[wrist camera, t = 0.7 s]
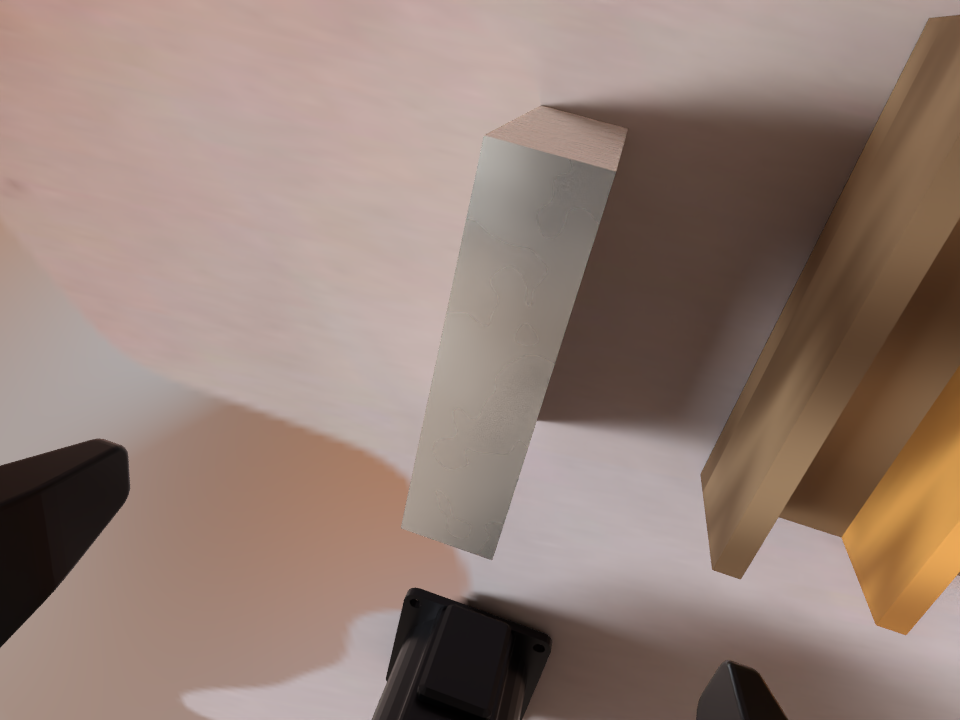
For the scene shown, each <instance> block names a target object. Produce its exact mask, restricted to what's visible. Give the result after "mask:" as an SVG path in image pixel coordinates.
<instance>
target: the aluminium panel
mask: <svg viewBox="0 0 960 720" xmlns="http://www.w3.org/2000/svg"><path fill="white" fill-rule="evenodd" d="M627 130H628V128H624V127H621V126H617V125H613V124H609V123H606V122H602V121H598V120H594V119H590V118H587V117H583V116H579V115H575V114H572V113H568V112H564V111H560V110H557V109H553V108H549V107H545V106H539V107H537V108H535V109H533V110H531V111H529V112H527V113H526V114H524V115H522V116H520V117H518V118H516V119H514V120H512V121H510V122H508V123H506V124H505V125H503V126H501V127H499V128H497V129H495V130H493V131H491V132H489V133H487V134H486V135H484V137H483V142H482V147H481V152H480V156H479V161H478V166H477V171H476V175H475V180H474V185H473V189H472V194H471V199H470V204H469V208H468V213H467V218H466V223H465V227H464V232H463V237H462V242H461V246H460V251H459V256H458V260H457V265H456V270H455V275H454V279H453V284H452V289H451V294H450V298H449V303H448V308H447V313H446V317H445V322H444V327H443V331H442V336H441V341H440V346H439V350H438V355H437V360H436V365H435V369H434V374H433V379H432V384H431V388H430V393H429V398H428V402H427V407H426V412H425V417H424V421H423V426H422V431H421V436H420V440H419V445H418V450H417V454H416V459H415V464H414V469H413V473H412V478H411V483H410V488H409V492H408V497H407V502H406V507H405V511H404V516H403V521H402V525H401V528H402V529H405V530H407V531H411V532H413V533H416V534H419V535H422V536H424V537H427V538H430V539H433V540H436V541H439V542H442V543H444V544H447V545H450V546H453V547H456V548H459V549H462V550H464V551H467V552H470V553H473V554H476V555H479V556H481V557H484V558H487V559H490V560H492V559H493V556H494V553H495V550H496V547H497V544H498V540H499V537H500V534H501V531H502V528H503V525H504V522H505V519H506V515H507V512H508V509H509V506H510V503H511V500H512V497H513V493H514V490H515V487H516V484H517V481H518V478H519V475H520V472H521V468H522V465H523V462H524V459H525V456H526V453H527V450H528V446H529V443H530V440H531V437H532V434H533V431H534V428H535V425H536V421H537V418H538V415H539V412H540V409H541V406H542V403H543V399H544V396H545V393H546V390H547V387H548V384H549V381H550V378H551V374H552V371H553V368H554V365H555V362H556V359H557V356H558V352H559V349H560V346H561V343H562V340H563V337H564V334H565V331H566V327H567V324H568V321H569V318H570V315H571V312H572V309H573V305H574V302H575V299H576V296H577V293H578V290H579V287H580V284H581V280H582V277H583V274H584V271H585V268H586V265H587V262H588V258H589V255H590V252H591V249H592V246H593V243H594V240H595V237H596V233H597V230H598V227H599V224H600V221H601V218H602V215H603V211H604V208H605V205H606V202H607V199H608V196H609V193H610V190H611V186H612V183H613V180H614V177H615V174H616V171H617V167H618V163H619V160H620V156H621V152H622V149H623V145H624V141H625V138H626V134H627Z"/></svg>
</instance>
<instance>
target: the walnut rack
mask: <svg viewBox="0 0 960 720" xmlns="http://www.w3.org/2000/svg"><path fill="white" fill-rule="evenodd" d="M701 482H702V490H703V498H704V506H705V515H706V523H707V531H708V539H709V547H710V556H711V564H712V570H714V571H717V572H720V573H723V574H726V575H729V576H732V577H735V578H738V579H741V578H742V576H743V575H744V573H745V571H746V570H747V568H748V567H749V565H750V563H751V562H752V560H753V558H754V557H755V555H756V553H757V552H758V550H759V548H760V547H761V545H762V543H763V542H764V540H765V538H766V537H767V535H768V534H769V532H770V530H771V529H772V527H773V525H774V524H775V522H776V520H777V519H778V517H780V518H783V519H786V520H789V521H792V522H796V523H799V524H802V525H805V526H808V527H811V528H814V529H817V530H820V531H823V532H826V533H829V534H833V535H836V536H839V537H842V540H843V543H844V545H845V548H846V550H847V553H848V555H849V558H850V560H851V563H852V565H853V568H854V570H855V573H856V576H857V578H858V581H859V583H860V586H861V588H862V591H863V593H864V596H865V598H866V601H867V603H868V606H869V609H870V611H871V614H872V616H873V619H874V621H875V624H876V625H877V626H880V627H883V628H886V629H889V630H892V631H895V632H898V633H901V634H904V635H907V634H908V632H909V631H910V630H911V629H912V628H913V626H914V625H915V624H916V623H917V622H918V621H919V619H920V618H921V617H922V616H923V615H924V613H925V612H926V611H927V610H928V609H929V608H930V606H931V605H932V604H933V603H934V602H935V600H936V599H937V598H938V597H939V596H940V595H941V593H942V592H943V591H944V590H945V589H946V587H947V586H948V585H949V584H950V583H951V582H952V580H953V579H954V578H955V577H956V576H957V575H959V576H960V15H956V16H946V17H936V18H929V20H928V22H927V24H926V26H925V28H924V30H923V32H922V34H921V36H920V38H919V40H918V42H917V44H916V46H915V48H914V50H913V52H912V53H911V55H910V57H909V59H908V61H907V63H906V65H905V67H904V69H903V71H902V73H901V75H900V77H899V79H898V81H897V83H896V85H895V87H894V89H893V91H892V93H891V95H890V97H889V99H888V101H887V103H886V105H885V107H884V109H883V111H882V113H881V115H880V117H879V119H878V121H877V123H876V125H875V127H874V129H873V131H872V133H871V135H870V137H869V139H868V141H867V143H866V145H865V147H864V149H863V151H862V153H861V155H860V157H859V159H858V161H857V163H856V165H855V167H854V169H853V171H852V173H851V175H850V177H849V179H848V181H847V183H846V185H845V187H844V189H843V191H842V193H841V195H840V197H839V199H838V201H837V203H836V205H835V207H834V209H833V211H832V213H831V215H830V217H829V219H828V221H827V223H826V225H825V227H824V229H823V231H822V233H821V235H820V237H819V239H818V241H817V243H816V245H815V247H814V249H813V251H812V253H811V255H810V257H809V259H808V261H807V263H806V265H805V267H804V269H803V271H802V273H801V275H800V277H799V279H798V281H797V283H796V285H795V287H794V289H793V291H792V293H791V295H790V297H789V299H788V301H787V303H786V305H785V307H784V309H783V311H782V313H781V315H780V317H779V319H778V321H777V323H776V325H775V327H774V329H773V331H772V333H771V335H770V337H769V339H768V341H767V343H766V345H765V347H764V349H763V351H762V353H761V355H760V357H759V359H758V361H757V363H756V365H755V367H754V369H753V371H752V373H751V375H750V377H749V379H748V381H747V383H746V385H745V387H744V389H743V391H742V393H741V395H740V397H739V399H738V401H737V403H736V405H735V407H734V409H733V411H732V413H731V415H730V417H729V419H728V421H727V423H726V425H725V427H724V429H723V431H722V433H721V435H720V437H719V439H718V441H717V443H716V445H715V447H714V448H713V450H712V452H711V454H710V456H709V458H708V460H707V462H706V464H705V466H704V468H703V470H702V472H701Z"/></svg>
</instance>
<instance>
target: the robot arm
mask: <svg viewBox="0 0 960 720" xmlns="http://www.w3.org/2000/svg"><path fill="white" fill-rule="evenodd" d="M129 491H130V477H129V461H128V452H127V450H126V449H125V448H124V447H123V446H122V445H119V444H116V443H113V442H110V441H108V440H105V439H93V440H89V441H86V442H82V443H79V444H75V445H72V446H68V447H64V448H61V449H57V450H54V451H51V452H47V453H44V454H40V455H36V456H33V457H29V458H26V459H22V460H19V461H15V462H12V463H8V464H4V465H1V466H0V647H1V646H2V645H3V644H4V643H5V642H6V641H7V640H8V639H9V638H10V637H11V636H12V635H13V634H14V633H15V632H16V630H18V629H19V628H20V627H21V625H22V624H23V623H24V622H25V621H26V620H27V619H28V618H29V617H30V616H31V615H32V614H33V613H34V612H35V611H36V610H37V609H38V608H39V607H40V606H41V605H42V604H43V602H44V601H45V600H46V599H47V598H48V597H49V596H50V595H51V593H53V592H54V590H55V589H56V588H57V587H58V586H59V585H60V583H61V582H62V581H63V580H64V579H65V577H66V576H67V575H68V574H69V572H70V571H71V570H72V569H73V568H74V566H75V565H76V564H77V562H78V561H79V560H80V558H81V557H82V556H83V555H84V554H85V552H86V551H87V550H88V549H89V547H90V546H91V545H92V544H93V542H94V541H95V540H96V538H97V537H98V536H99V535H100V533H101V532H102V531H103V529H104V528H105V527H106V526H107V525H108V523H109V522H110V521H111V520H112V518H113V517H114V516H115V514H116V513H117V512H118V511H119V509H120V508H121V507H122V506H123V504H124V503H125V501H126V499H127V497H128V495H129ZM540 644H541V645H540ZM551 646H552V640H551V638H550V637H549V636H548V635H547V634H545V633H543V632H540V631H537V630H534V629H531V628H529V627H526V626H523V625H520V624H518V623H515V622H512V621H509V620H506V619H504V618H501V617H498V616H495V615H492V614H490V613H487V612H484V611H481V610H478V609H476V608H473V607H470V606H467V605H465V604H462V603H459V602H456V601H453V600H451V599H448V598H445V597H442V596H439V595H436V594H434V593H431V592H428V591H425V590H423V589H419V588H411V589H409V591H408V592H407V595H406V597H405V599H404V603H403V607H402V611H401V616H400V620H399V624H398V629H397V633H396V637H395V642H394V646H393V650H392V655H391V659H390V663H389V667H388V672H387V676H386V681H387V684H386V686H385V689H384V691H383V693H382V696H381V698H380V701H379V703H378V706H377V708H376V710H375V713H374V715H373V718H372V720H522V718H523V716H524V713H525V711H526V709H527V706H528V704H529V702H530V699H531V697H532V695H533V692H534V690H535V688H536V685H537V683H538V681H539V678H540V676H541V674H542V671H543V669H544V667H545V664H546V662H547V660H548V657H549V655H550V653H551ZM696 720H788V718H787V717H786V715H785V713H784V712H783V710H782V709H781V707H780V705H779V704H778V702H777V701H776V699H775V697H774V696H773V694H772V693H771V691H770V689H769V688H768V686H767V685H766V683H765V681H764V680H763V678H762V677H761V675H760V674H759V673H758V672H757V671H756V670H755V669H753V668H750V667H747V666H744V665H742V664H739V663H736V662H733V661H728V660H727V661H725V662H723V663H722V664H721V665H720V666H719V668H718V670H717V671H716V673H715V674H714V676H713V677H712V679H711V681H710V682H709V684H708V685H707V687H706V688H705V690H704V692H703V693H702V695H701V697H700V700H699V703H698V708H697V717H696Z"/></svg>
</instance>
